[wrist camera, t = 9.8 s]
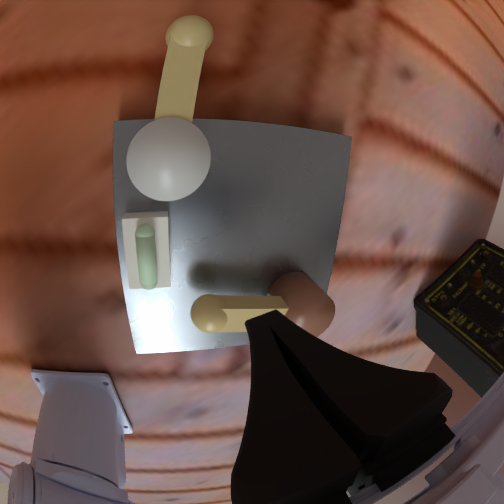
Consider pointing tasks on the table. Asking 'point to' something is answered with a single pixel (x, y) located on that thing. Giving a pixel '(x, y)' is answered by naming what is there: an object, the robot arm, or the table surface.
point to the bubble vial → (147, 249)
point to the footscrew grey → (174, 120)
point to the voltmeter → (467, 316)
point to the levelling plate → (235, 224)
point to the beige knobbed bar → (267, 306)
